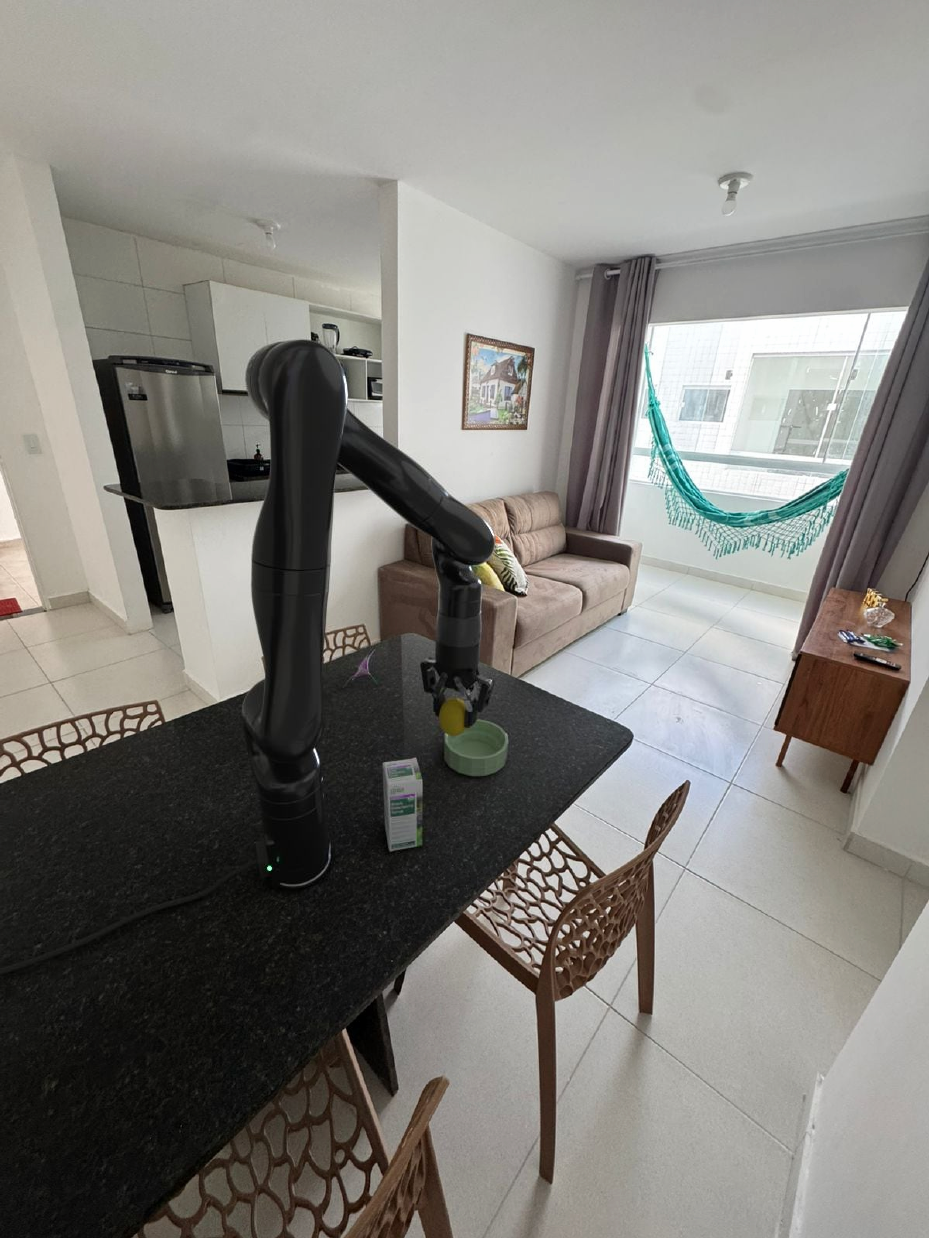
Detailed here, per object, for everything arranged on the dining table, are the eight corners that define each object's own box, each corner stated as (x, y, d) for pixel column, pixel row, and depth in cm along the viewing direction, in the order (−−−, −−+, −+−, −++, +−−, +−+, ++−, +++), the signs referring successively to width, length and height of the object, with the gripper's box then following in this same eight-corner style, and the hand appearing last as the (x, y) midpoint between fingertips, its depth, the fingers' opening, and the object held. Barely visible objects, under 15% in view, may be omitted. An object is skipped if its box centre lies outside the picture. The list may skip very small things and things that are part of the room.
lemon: (469, 728, 96) (472, 691, 92) (467, 746, 90) (469, 708, 87) (440, 725, 96) (441, 688, 93) (436, 743, 91) (437, 705, 88)
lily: (374, 671, 142) (356, 644, 138) (401, 670, 134) (382, 641, 130) (346, 701, 134) (325, 673, 131) (372, 702, 126) (351, 672, 123)
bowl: (460, 785, 100) (461, 765, 98) (434, 746, 111) (434, 727, 109) (517, 768, 106) (519, 748, 104) (487, 732, 117) (489, 714, 115)
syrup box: (388, 852, 85) (387, 784, 79) (384, 826, 90) (382, 760, 84) (422, 846, 87) (423, 779, 81) (416, 820, 92) (416, 755, 86)
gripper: (409, 632, 85) (409, 716, 92) (485, 655, 79) (479, 744, 86) (434, 617, 91) (432, 698, 98) (507, 638, 85) (499, 723, 92)
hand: (454, 719), depth 92 cm, fingers closed on lemon, 5 cm apart
